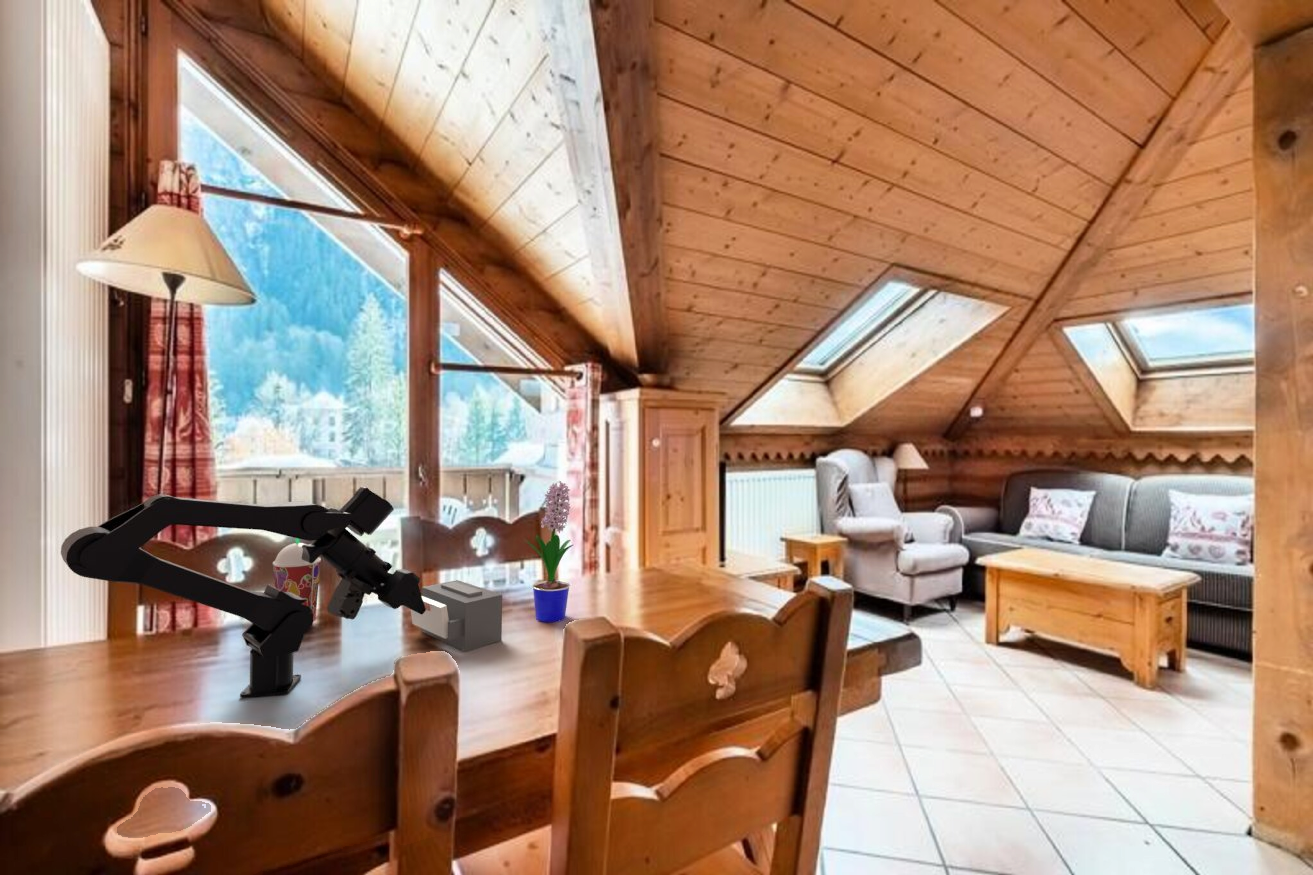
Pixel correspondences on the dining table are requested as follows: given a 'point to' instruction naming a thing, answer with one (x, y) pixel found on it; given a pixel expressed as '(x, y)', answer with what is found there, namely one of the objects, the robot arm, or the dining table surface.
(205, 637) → the dining table surface
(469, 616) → the box
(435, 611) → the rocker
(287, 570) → the smoothie
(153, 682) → the dining table surface
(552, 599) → the hyacinth
